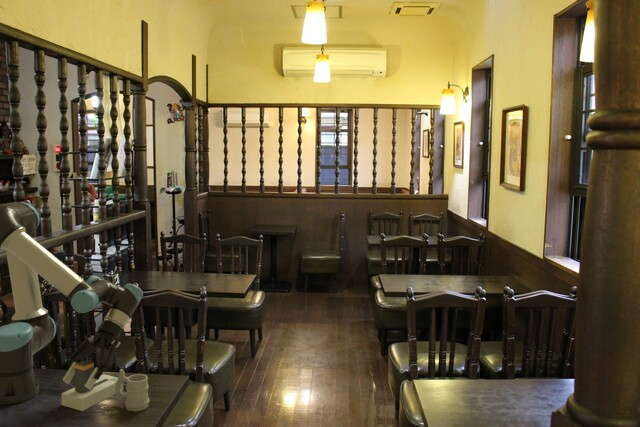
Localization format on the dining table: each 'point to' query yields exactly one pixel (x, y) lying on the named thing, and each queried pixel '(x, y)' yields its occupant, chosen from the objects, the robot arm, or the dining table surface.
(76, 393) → the switch box
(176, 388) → the dining table surface
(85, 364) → the lever
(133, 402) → the mug
